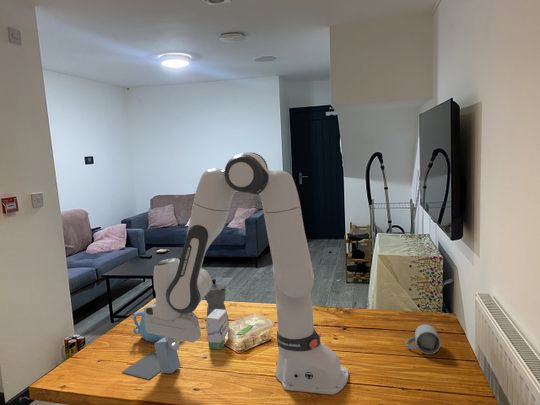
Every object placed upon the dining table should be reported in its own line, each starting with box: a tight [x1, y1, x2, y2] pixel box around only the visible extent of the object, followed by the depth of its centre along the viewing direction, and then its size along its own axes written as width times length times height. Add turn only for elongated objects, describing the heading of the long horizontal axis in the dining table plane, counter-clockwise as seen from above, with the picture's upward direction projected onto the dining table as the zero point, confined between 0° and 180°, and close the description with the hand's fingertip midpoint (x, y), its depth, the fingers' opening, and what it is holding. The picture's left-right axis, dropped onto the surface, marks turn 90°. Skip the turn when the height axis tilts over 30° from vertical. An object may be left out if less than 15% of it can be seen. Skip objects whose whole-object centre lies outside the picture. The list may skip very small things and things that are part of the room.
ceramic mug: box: [405, 324, 441, 355], centre depth 139 cm, size 11×8×8 cm
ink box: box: [205, 309, 229, 350], centre depth 151 cm, size 8×5×12 cm, turn 164°
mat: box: [121, 351, 161, 381], centre depth 140 cm, size 12×14×1 cm
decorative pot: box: [133, 305, 165, 343], centre depth 161 cm, size 16×16×14 cm
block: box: [153, 338, 181, 374], centre depth 135 cm, size 4×4×10 cm
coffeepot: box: [204, 278, 229, 320], centre depth 171 cm, size 15×9×18 cm, turn 44°
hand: (174, 349), depth 133 cm, fingers closed
